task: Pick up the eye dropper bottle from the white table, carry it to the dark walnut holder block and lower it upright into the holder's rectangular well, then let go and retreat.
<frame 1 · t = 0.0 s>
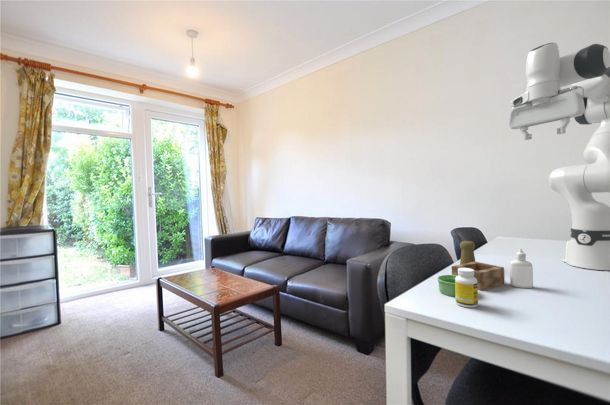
hand: (543, 136, 95), 48 cm above the table, tool pointing down, fingers open, 8 cm apart
supplement bottle: (466, 305, 79), on the table
eye dropper bottle: (521, 287, 91), on the table
walnut holder: (477, 283, 96), on the table
cork: (468, 269, 113), on the table
ramekin: (453, 293, 88), on the table
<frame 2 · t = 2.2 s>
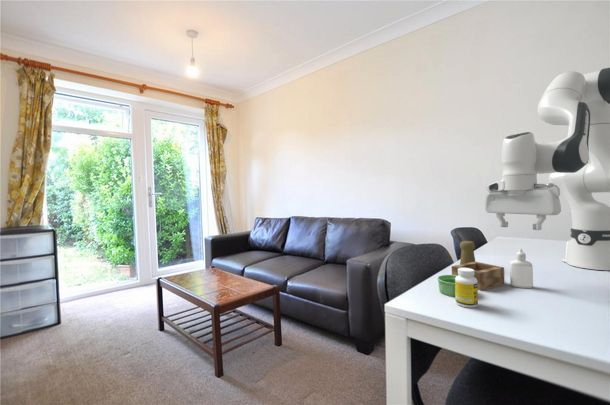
hand: (520, 228, 90), 19 cm above the table, tool pointing down, fingers open, 8 cm apart
nothing on the table moved.
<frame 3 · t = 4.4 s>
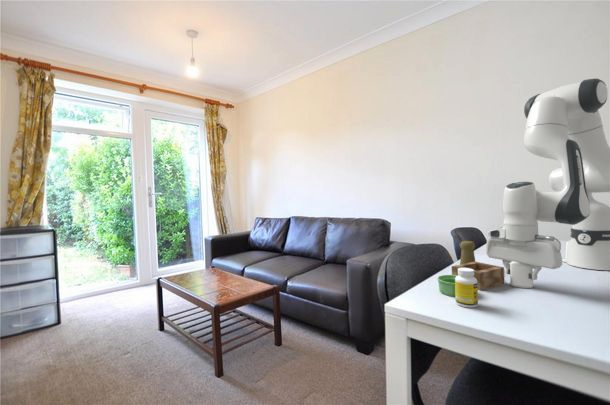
hand: (521, 276, 91), 3 cm above the table, tool pointing down, fingers closed on eye dropper bottle, 5 cm apart
eye dropper bottle: (521, 287, 91), on the table, touching gripper
everything else where it was.
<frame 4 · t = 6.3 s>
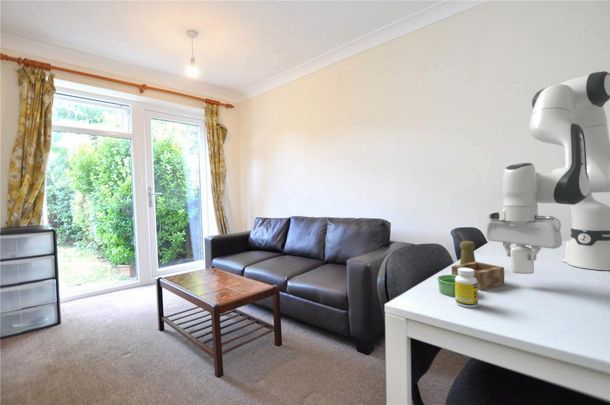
hand: (521, 258, 91), 9 cm above the table, tool pointing down, fingers closed on eye dropper bottle, 5 cm apart
eye dropper bottle: (522, 273, 90), point 4 cm above the table, touching gripper
everything else where it was.
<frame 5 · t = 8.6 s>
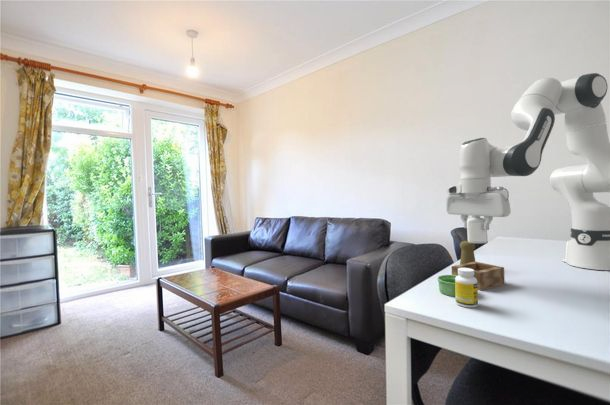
hand: (476, 229, 95), 18 cm above the table, tool pointing down, fingers closed on eye dropper bottle, 5 cm apart
eye dropper bottle: (477, 243, 95), point 13 cm above the table, touching gripper
everything else where it was.
when the fingers open (6 cm above the table, at t = 11.5 s): eye dropper bottle stays where it is, resting on walnut holder.
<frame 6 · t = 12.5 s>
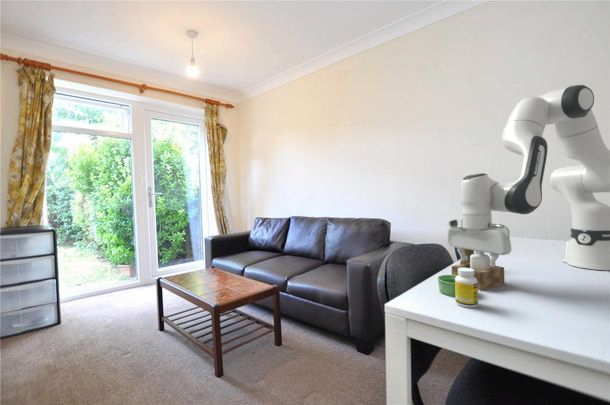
hand: (477, 263, 96), 7 cm above the table, tool pointing down, fingers open, 8 cm apart
eye dropper bottle: (480, 278, 95), point 2 cm above the table, touching walnut holder
everything else where it was.
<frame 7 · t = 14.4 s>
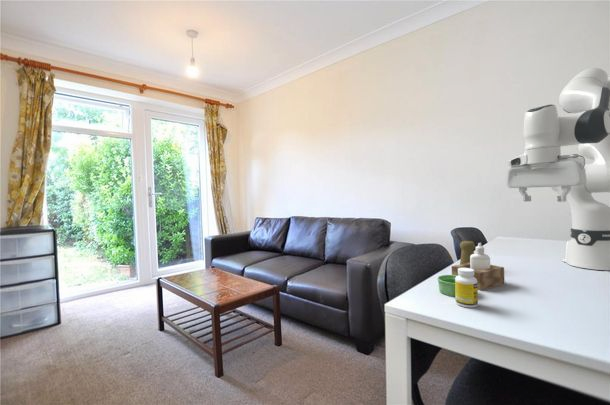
hand: (543, 201, 91), 27 cm above the table, tool pointing down, fingers open, 8 cm apart
nothing on the table moved.
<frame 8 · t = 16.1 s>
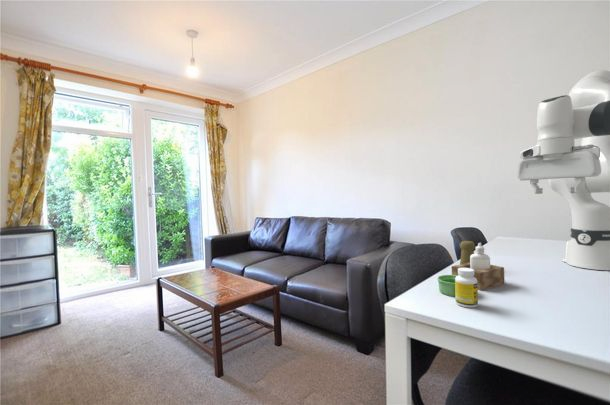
hand: (555, 193, 89), 29 cm above the table, tool pointing down, fingers open, 8 cm apart
nothing on the table moved.
at the end: eye dropper bottle 0.8 cm off-centre on the walnut holder, point 1.5 cm above the walnut holder's base; eye dropper bottle tilted 4°; the gripper is holding nothing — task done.
